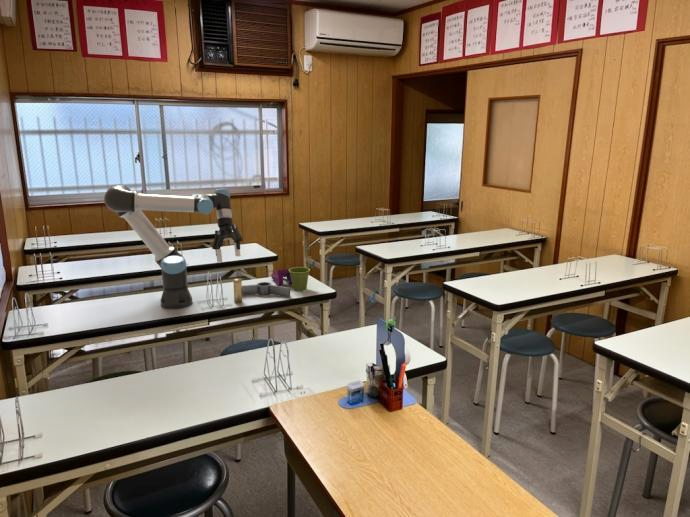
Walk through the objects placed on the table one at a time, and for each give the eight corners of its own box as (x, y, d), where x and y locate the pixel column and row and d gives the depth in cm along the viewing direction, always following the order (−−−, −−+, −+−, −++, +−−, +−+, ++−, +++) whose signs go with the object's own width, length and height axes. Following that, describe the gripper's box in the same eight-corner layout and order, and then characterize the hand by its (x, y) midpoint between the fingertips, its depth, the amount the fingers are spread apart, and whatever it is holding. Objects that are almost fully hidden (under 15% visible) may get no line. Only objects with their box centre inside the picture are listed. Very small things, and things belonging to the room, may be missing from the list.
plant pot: (314, 287, 277) (314, 268, 274) (303, 294, 267) (303, 273, 264) (296, 284, 282) (295, 265, 279) (284, 290, 272) (284, 271, 269)
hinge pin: (233, 303, 252) (232, 280, 249) (235, 300, 256) (234, 278, 253) (241, 303, 252) (240, 280, 249) (243, 300, 256) (242, 278, 252)
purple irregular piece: (271, 290, 291) (279, 285, 275) (269, 276, 293) (277, 270, 276) (287, 288, 295) (295, 283, 279) (284, 274, 296) (293, 268, 280)
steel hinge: (233, 295, 263) (233, 286, 262) (238, 290, 272) (238, 281, 271) (289, 297, 261) (289, 288, 260) (292, 291, 271) (292, 282, 269)
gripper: (247, 213, 253) (251, 254, 250) (214, 225, 267) (218, 264, 264) (235, 211, 247) (240, 253, 244) (203, 223, 261) (206, 263, 257)
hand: (228, 259), depth 254 cm, fingers open, 13 cm apart
